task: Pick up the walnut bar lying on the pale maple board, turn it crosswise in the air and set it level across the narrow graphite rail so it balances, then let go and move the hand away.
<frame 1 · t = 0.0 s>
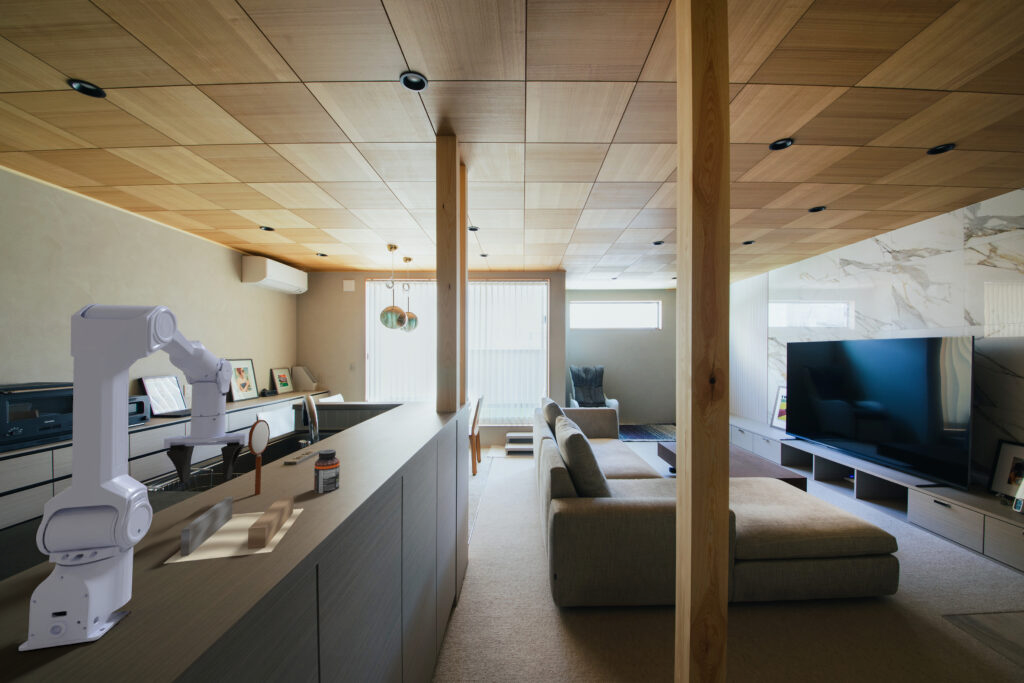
hand: (206, 480, 80), 10 cm above the worktop, tool pointing down, fingers open, 7 cm apart
magnifying glass: (257, 500, 96), on the worktop
supplement bottle: (326, 495, 100), on the worktop
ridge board: (244, 539, 75), on the worktop
walnut bar: (272, 529, 76), point 1 cm above the worktop, touching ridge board
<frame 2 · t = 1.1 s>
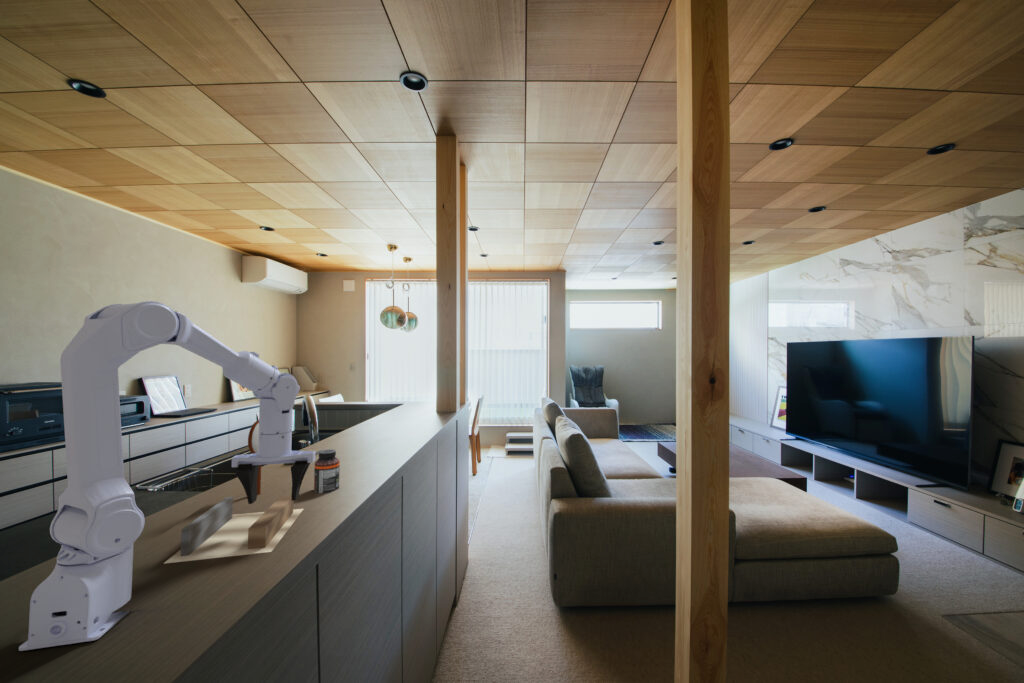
hand: (274, 500, 77), 7 cm above the worktop, tool pointing down, fingers open, 7 cm apart
nothing on the worktop moved.
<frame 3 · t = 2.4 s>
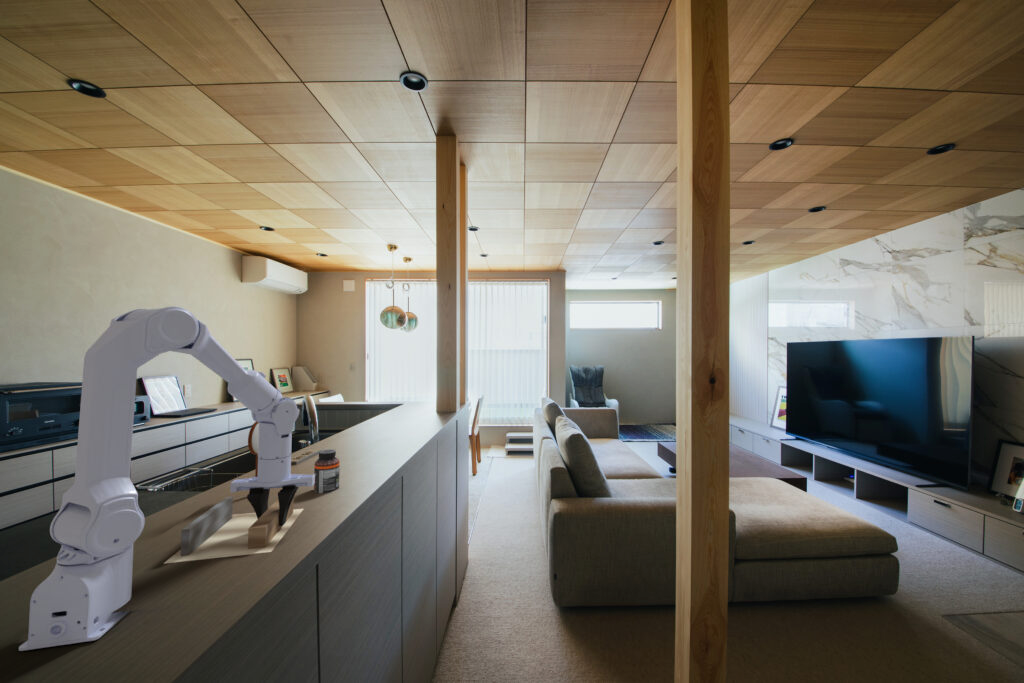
hand: (273, 524, 76), 2 cm above the worktop, tool pointing down, fingers closed on walnut bar, 3 cm apart
walnut bar: (272, 529, 76), point 1 cm above the worktop, touching gripper, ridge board
everything else where it was.
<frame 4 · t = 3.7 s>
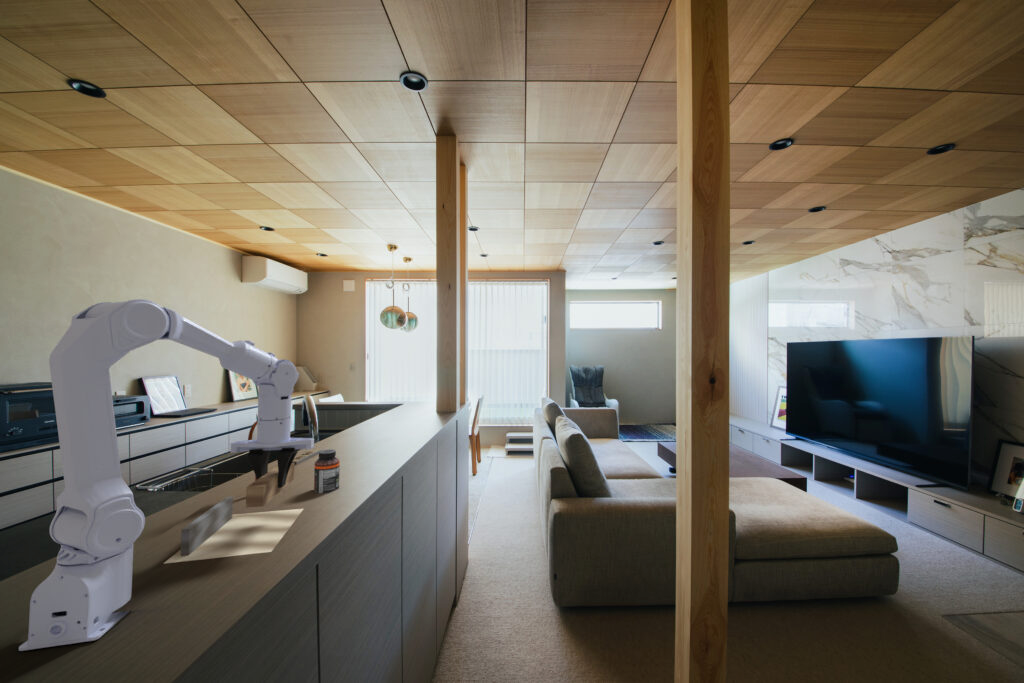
hand: (272, 486, 77), 10 cm above the worktop, tool pointing down, fingers closed on walnut bar, 3 cm apart
walnut bar: (272, 491, 77), point 9 cm above the worktop, touching gripper
everything else where it was.
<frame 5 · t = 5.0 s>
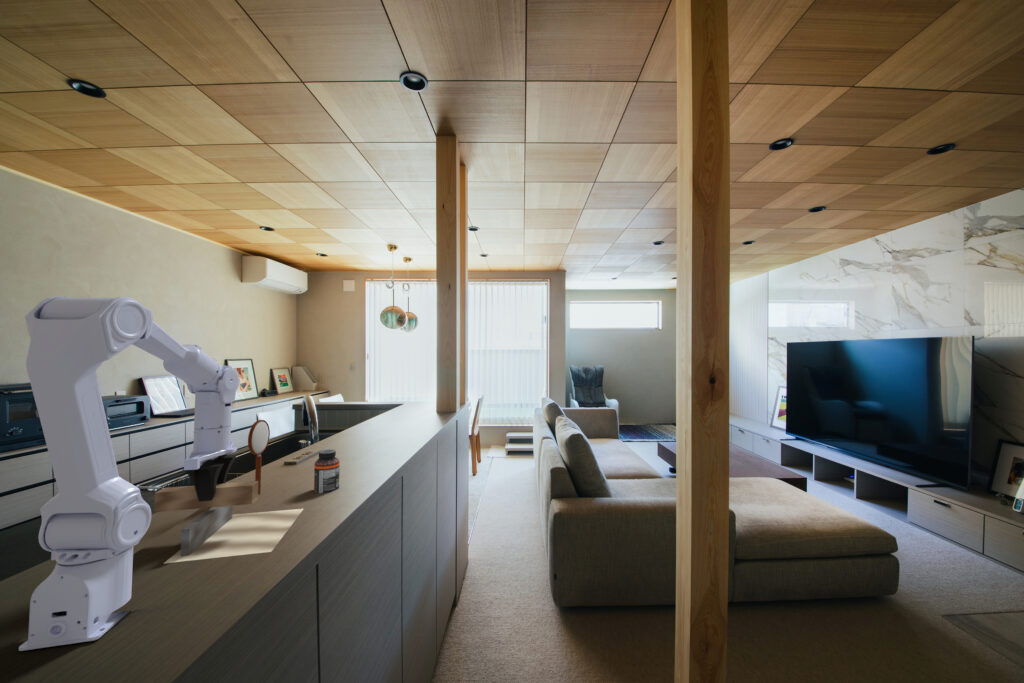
hand: (210, 497, 74), 9 cm above the worktop, tool pointing down, fingers closed on walnut bar, 3 cm apart
walnut bar: (208, 505, 74), point 7 cm above the worktop, touching gripper
everything else where it was.
when the fingers open (8 cm above the worktop, at t = 5.5 s): walnut bar stays where it is, resting on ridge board.
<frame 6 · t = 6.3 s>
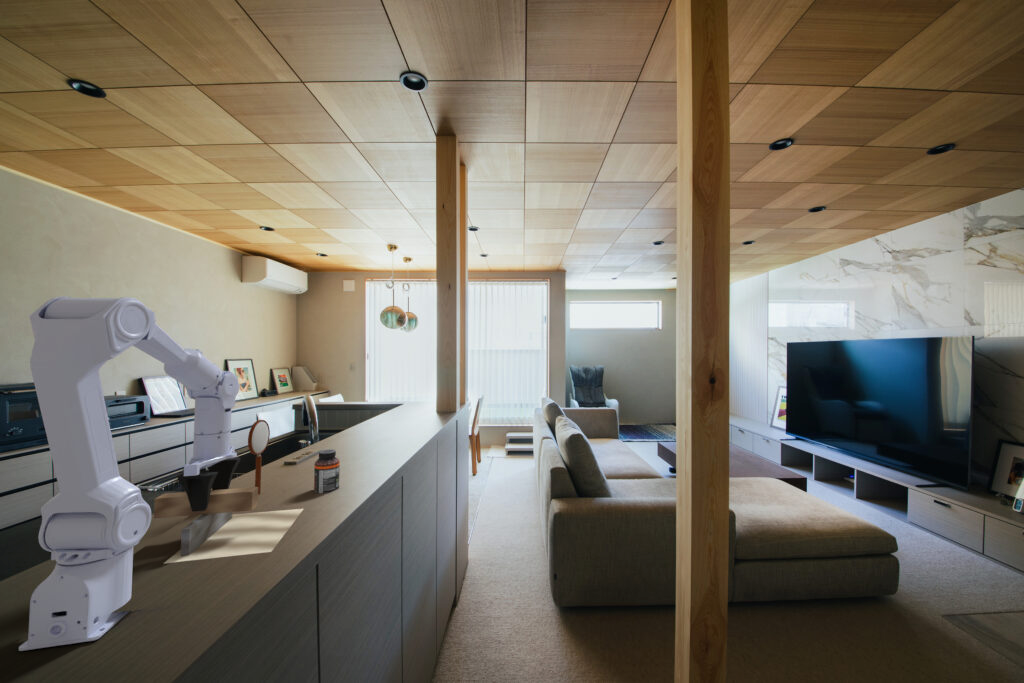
hand: (210, 502, 74), 8 cm above the worktop, tool pointing down, fingers open, 7 cm apart
walnut bar: (208, 511, 74), point 6 cm above the worktop, touching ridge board
everything else where it was.
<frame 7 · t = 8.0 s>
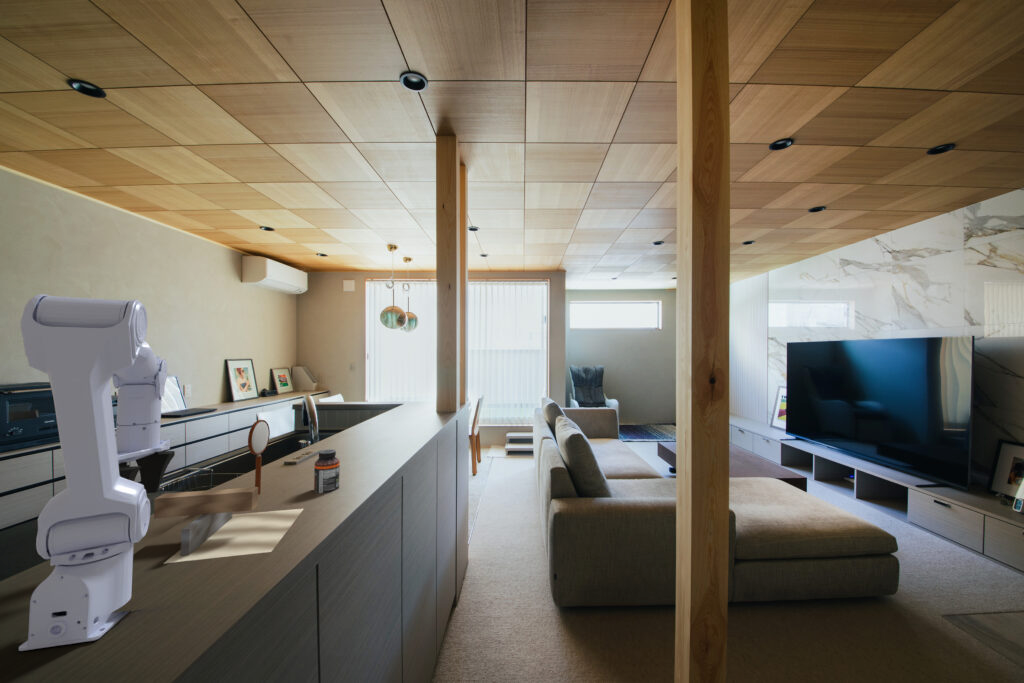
hand: (135, 500, 68), 10 cm above the worktop, tool pointing down, fingers open, 7 cm apart
nothing on the worktop moved.
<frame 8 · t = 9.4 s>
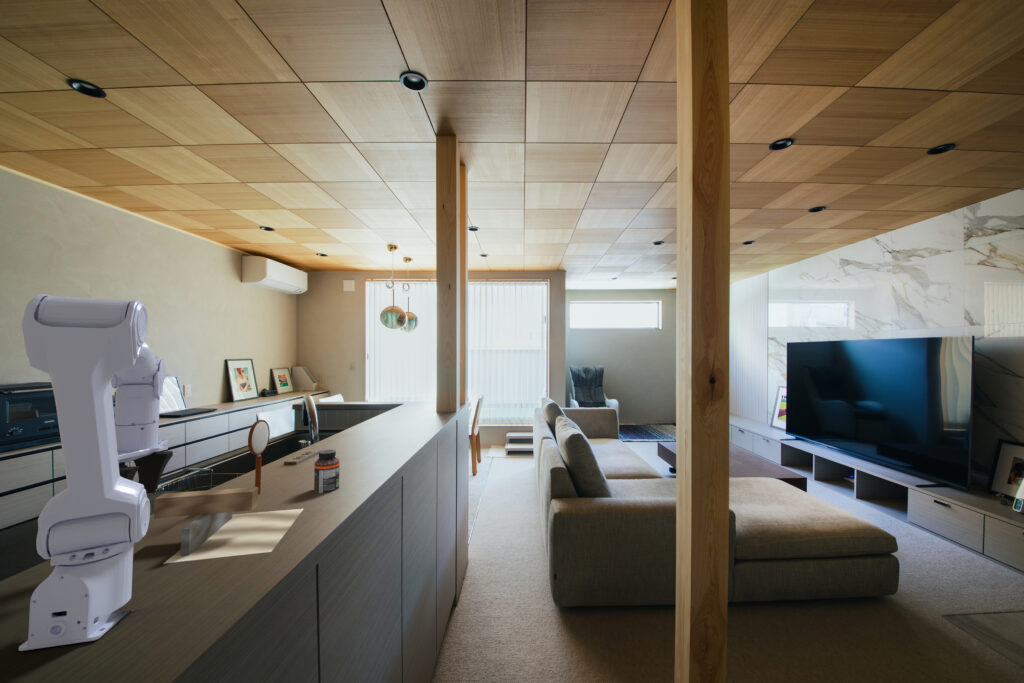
hand: (133, 500, 68), 10 cm above the worktop, tool pointing down, fingers open, 7 cm apart
nothing on the worktop moved.
at the end: walnut bar 0.3 cm from the target spot on the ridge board, point 6.0 cm above the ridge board's base; walnut bar tilted 0°; the gripper is holding nothing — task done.
